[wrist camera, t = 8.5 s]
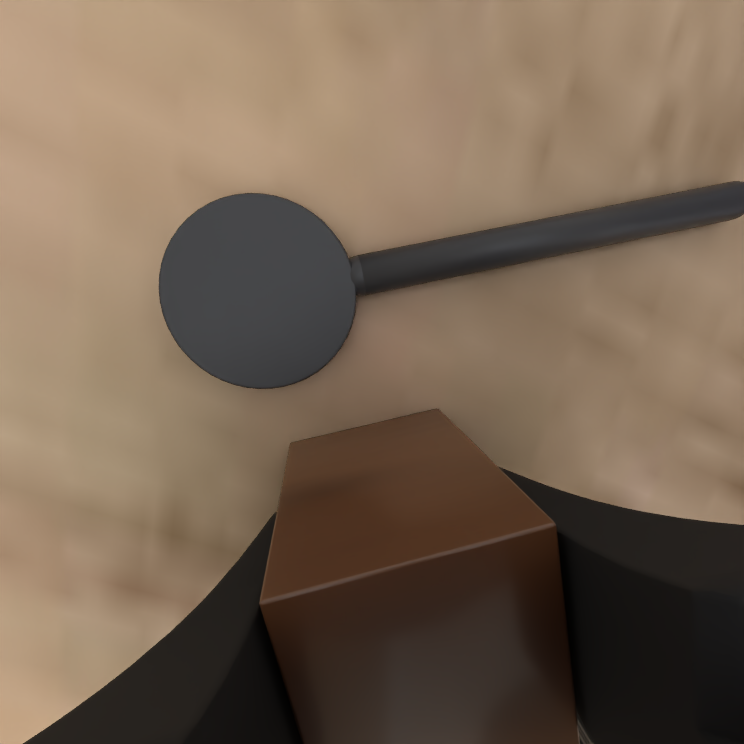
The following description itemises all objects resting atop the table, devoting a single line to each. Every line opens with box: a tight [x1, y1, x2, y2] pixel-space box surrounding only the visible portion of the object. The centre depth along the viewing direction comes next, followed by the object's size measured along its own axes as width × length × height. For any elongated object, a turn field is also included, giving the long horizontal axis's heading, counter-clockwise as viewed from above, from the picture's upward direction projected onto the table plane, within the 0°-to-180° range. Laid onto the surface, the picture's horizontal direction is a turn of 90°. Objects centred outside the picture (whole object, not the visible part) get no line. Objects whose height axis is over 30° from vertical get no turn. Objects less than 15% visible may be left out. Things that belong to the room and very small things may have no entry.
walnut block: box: [259, 409, 580, 744], centre depth 9 cm, size 4×4×6 cm
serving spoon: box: [159, 181, 744, 389], centre depth 10 cm, size 16×5×1 cm, turn 101°
